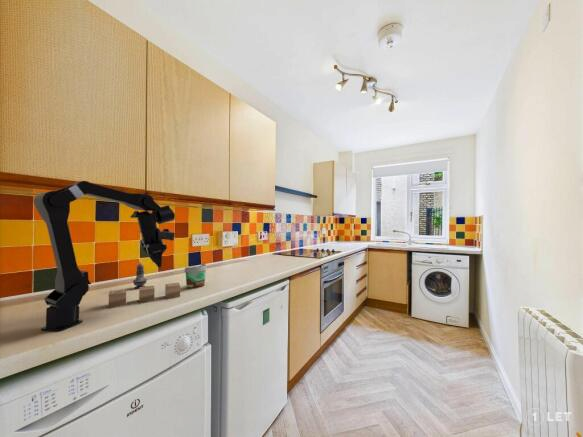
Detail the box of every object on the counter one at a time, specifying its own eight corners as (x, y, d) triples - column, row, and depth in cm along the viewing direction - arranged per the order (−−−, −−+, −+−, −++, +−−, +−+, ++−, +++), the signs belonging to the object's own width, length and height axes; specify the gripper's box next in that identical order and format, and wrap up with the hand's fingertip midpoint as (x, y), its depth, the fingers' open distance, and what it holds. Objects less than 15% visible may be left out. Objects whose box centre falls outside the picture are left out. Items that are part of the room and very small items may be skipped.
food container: (195, 290, 107) (195, 268, 107) (184, 289, 109) (184, 267, 109) (212, 284, 118) (212, 264, 119) (202, 283, 120) (202, 263, 121)
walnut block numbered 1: (180, 297, 97) (180, 284, 97) (166, 299, 94) (166, 286, 95) (178, 294, 101) (178, 281, 102) (165, 296, 99) (165, 283, 99)
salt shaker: (130, 289, 108) (130, 263, 108) (135, 286, 114) (135, 261, 114) (144, 288, 110) (145, 263, 110) (148, 285, 115) (149, 261, 116)
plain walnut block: (154, 301, 92) (154, 288, 92) (139, 303, 89) (139, 290, 90) (153, 297, 96) (153, 285, 96) (139, 299, 94) (139, 287, 94)
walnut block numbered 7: (125, 305, 87) (125, 291, 87) (108, 308, 84) (108, 293, 84) (126, 301, 91) (126, 288, 91) (109, 304, 88) (110, 290, 89)
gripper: (176, 224, 89) (185, 262, 92) (165, 220, 103) (172, 254, 106) (143, 231, 82) (153, 272, 85) (135, 226, 97) (144, 262, 99)
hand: (157, 264), depth 94 cm, fingers open, 9 cm apart
